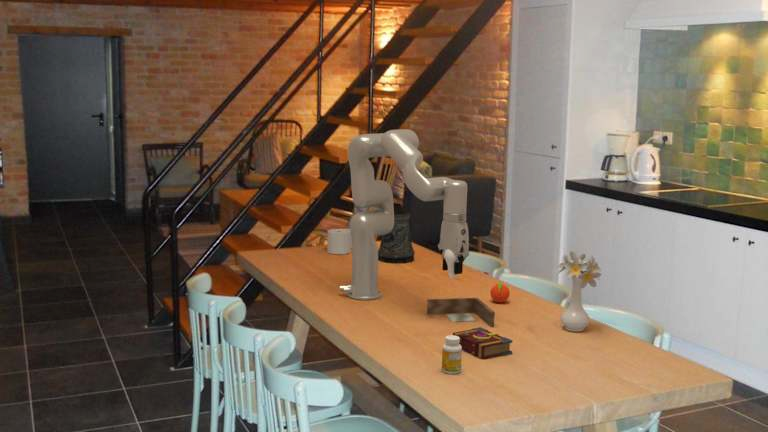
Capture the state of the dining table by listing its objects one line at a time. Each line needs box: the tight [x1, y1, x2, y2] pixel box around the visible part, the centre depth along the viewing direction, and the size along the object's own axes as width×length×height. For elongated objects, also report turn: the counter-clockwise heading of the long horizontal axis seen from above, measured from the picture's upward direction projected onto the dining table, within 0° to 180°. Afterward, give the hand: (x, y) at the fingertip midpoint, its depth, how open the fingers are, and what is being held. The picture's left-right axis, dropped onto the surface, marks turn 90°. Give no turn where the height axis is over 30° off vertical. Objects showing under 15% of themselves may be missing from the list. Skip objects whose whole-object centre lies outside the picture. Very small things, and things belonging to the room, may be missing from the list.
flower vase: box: [556, 250, 602, 333], centre depth 273 cm, size 13×18×25 cm
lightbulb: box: [444, 249, 461, 280], centre depth 278 cm, size 6×6×11 cm
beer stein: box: [377, 202, 415, 265], centre depth 372 cm, size 16×19×25 cm
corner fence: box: [426, 297, 496, 328], centre depth 283 cm, size 18×18×5 cm
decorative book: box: [452, 326, 513, 359], centre depth 254 cm, size 11×16×5 cm
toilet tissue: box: [326, 228, 352, 255], centre depth 387 cm, size 11×12×10 cm
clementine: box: [490, 282, 510, 304], centre depth 306 cm, size 8×7×7 cm
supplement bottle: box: [441, 334, 463, 375], centre depth 234 cm, size 5×5×10 cm
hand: (452, 271), depth 279 cm, fingers closed on lightbulb, 5 cm apart
